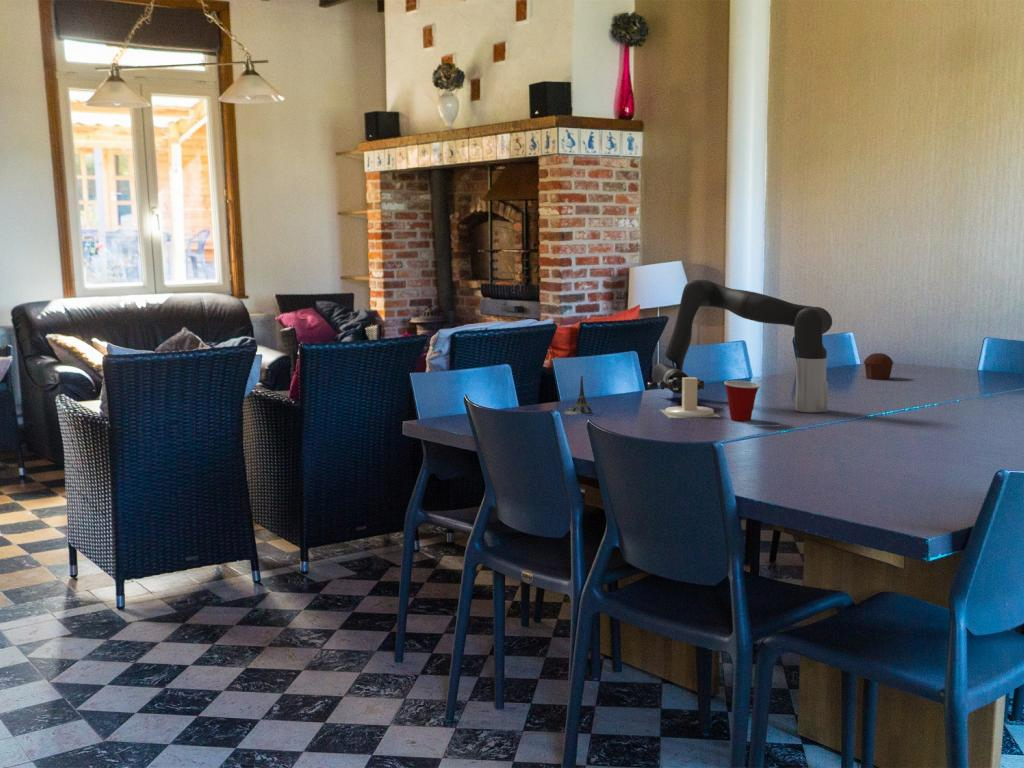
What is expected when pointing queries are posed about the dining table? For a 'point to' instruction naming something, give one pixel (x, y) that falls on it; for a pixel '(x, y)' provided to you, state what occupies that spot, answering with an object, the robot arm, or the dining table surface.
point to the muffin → (878, 366)
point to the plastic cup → (741, 399)
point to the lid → (689, 401)
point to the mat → (687, 417)
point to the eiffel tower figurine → (580, 403)
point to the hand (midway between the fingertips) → (685, 387)
